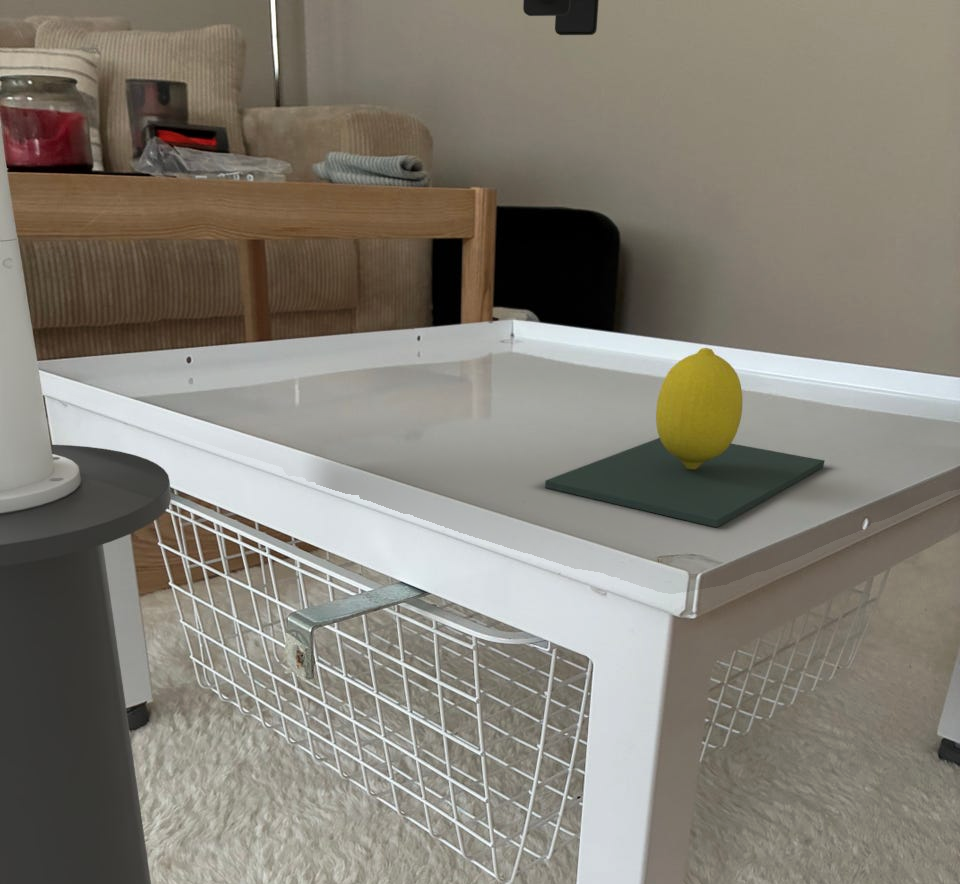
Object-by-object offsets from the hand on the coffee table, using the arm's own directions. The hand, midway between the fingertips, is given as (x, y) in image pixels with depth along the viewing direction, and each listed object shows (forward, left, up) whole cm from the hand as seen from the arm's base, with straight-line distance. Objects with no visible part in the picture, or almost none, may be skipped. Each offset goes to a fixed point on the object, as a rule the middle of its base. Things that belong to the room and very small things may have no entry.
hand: (561, 25), depth 72 cm
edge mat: (-10, -19, -28) cm, 36 cm away
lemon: (-10, -19, -28) cm, 35 cm away
